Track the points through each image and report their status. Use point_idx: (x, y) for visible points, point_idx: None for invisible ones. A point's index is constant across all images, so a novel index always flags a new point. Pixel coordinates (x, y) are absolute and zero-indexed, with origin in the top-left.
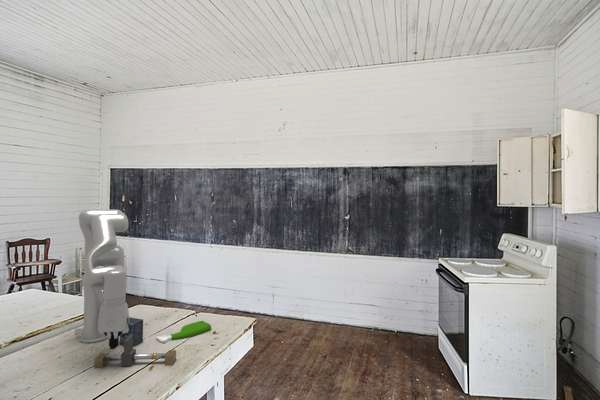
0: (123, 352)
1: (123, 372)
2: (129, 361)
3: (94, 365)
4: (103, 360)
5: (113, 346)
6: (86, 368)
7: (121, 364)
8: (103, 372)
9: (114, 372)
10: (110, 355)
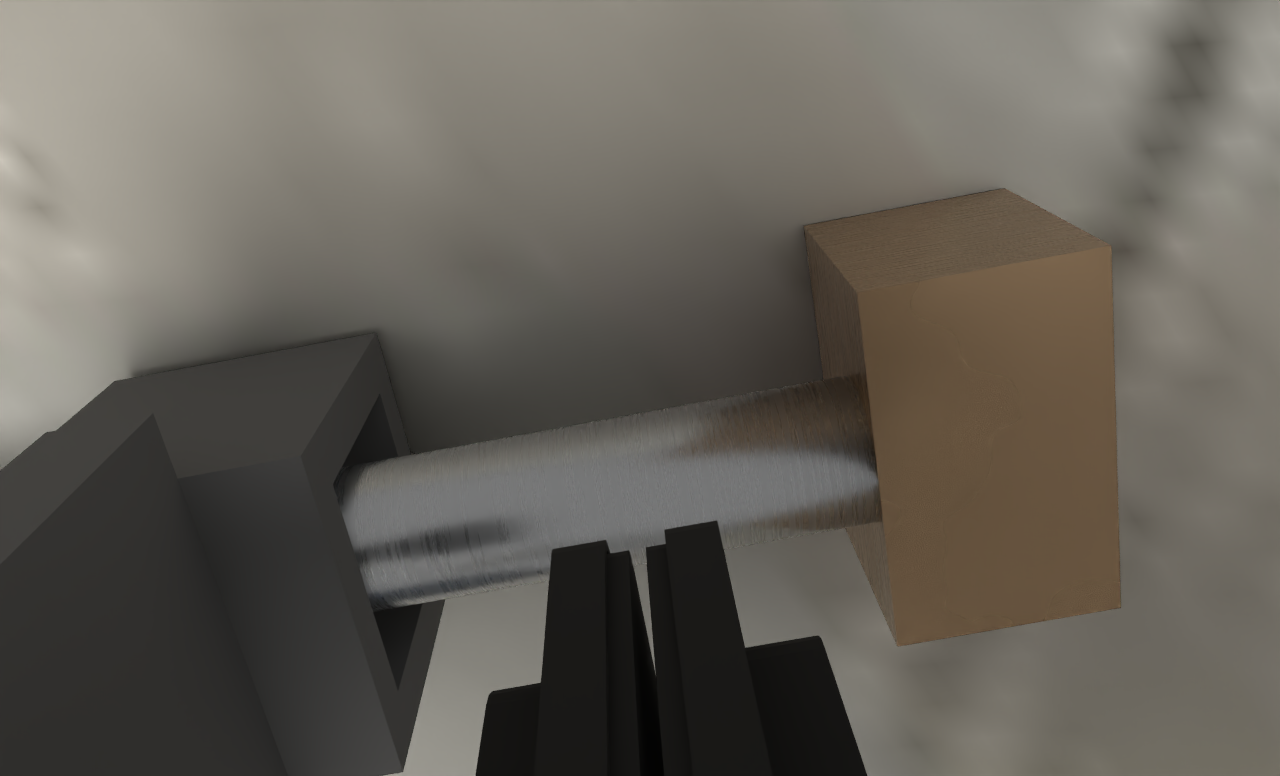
0: (317, 589)
1: (110, 73)
2: (123, 411)
3: (1023, 202)
4: (844, 322)
5: (570, 596)
6: (1199, 174)
7: (347, 346)
8: (641, 21)
9: (349, 50)
10: (739, 504)
